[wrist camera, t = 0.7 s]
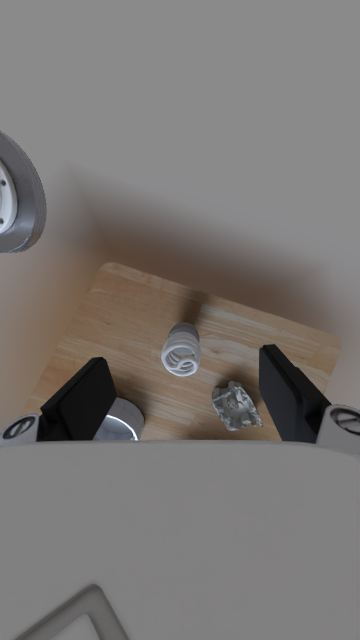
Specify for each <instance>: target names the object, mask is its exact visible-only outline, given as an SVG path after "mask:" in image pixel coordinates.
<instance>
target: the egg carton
mask: <svg viewBox="0 0 360 640" xmlns="http://www.w3.org/2000/svg"><path fill="white" fill-rule="evenodd" d="M214 391H215V392H214V393H213V394H212V398H213V401H212V402H211V404H212V405H213V407H214V408H215V410H216V411H217V413H218V415H219V416H220V418H221V420H222V421H223V422H224V424H225V426H226V428H227V429H228V430H231V431H234V430H239V429H240V428H242V427H243V428H246V425H247V424H249V423H251V424H252V425H253V426H258V425H261V426H262V427H263V423H262V422H261V420H260V418H259V416H258V415H259V413H258V410H257V408H256V407H255V405H254V404H253V402H252V400H251V399H250V397H249V396H248V395H247V393H246V392H245V391H244V390H243V388H242V385H241V383H240V382H234V381H230V382H228V386H227V388H224V389H221V388H219V387H217V388H215V389H214Z"/></svg>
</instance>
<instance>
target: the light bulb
mask: <svg viewBox="0 0 360 640" xmlns="http://www.w3.org/2000/svg"><path fill="white" fill-rule="evenodd" d="M173 351H174V352H175V353H177V354H180V355H188V354H191V353H194V354H193V355H192V356H185V357H180V356H177V355H176V354H175V353H174V352H173ZM200 359H201V350H200V345H199V334H198V331H197V329H196V327H195V326H193V325H192V324H190V323H186V322H182V323H178V324H176V325H175V326H174V327H173V328H172V330H171V331H170V333H169V336H168V339H167V341H166V343H165V344H164V347H163V351H162V361H163V364H164V366H165V367H166V368H167V370H169V371H170V372H171V373H173V374H175V375H178V376H188V375H191V374H193V373H194V372H196V371H197V369H198V366H199V362H200Z"/></svg>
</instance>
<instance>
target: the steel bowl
mask: <svg viewBox="0 0 360 640" xmlns="http://www.w3.org/2000/svg"><path fill="white" fill-rule="evenodd" d="M143 427H144V418H143V416H142V414H141V412H140V410H139V409H138V408H137V407H136V406H135V405H134V404H132V403H130V402H129V401H127V400H125V399H122V398H118V397H116V400H115V401H114V403H113V405H112V407H111V408H110V410H109V412H108V414H107V415H106V417H105V419H104V421H103V422H102V424H101V426H100V428H99V429H98V431H97V433H96V435H95V436H94V438H93V440H92V441H104V440H140V437H141V434H142V431H143Z"/></svg>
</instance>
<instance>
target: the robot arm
mask: <svg viewBox="0 0 360 640" xmlns="http://www.w3.org/2000/svg"><path fill="white" fill-rule="evenodd" d="M17 205H18V204H17V194H16V190H15V186H14V184H13V181H12V178H11V176H10V174H9V172H8V171H7V169H6V167H5V166H4V164H3V163H2V162H1V160H0V233H3V232H5V231H6V230H8V229H9V228H10V227H11V225H12V224H13V222H14V220H15V217H16V214H17ZM259 391H260V394H261V396H262V398H263V400H264V402H265V404H266V407H267V409H268V411H269V413H270V415H271V417H272V419H273V422H274V424H275V426H276V428H277V430H278V432H279V435H280V437H281V439H282V441H264V440H104V441H92V440H93V438H94V436H95V435H96V433H97V431H98V429H99V428H100V426H101V424H102V422H103V421H104V419H105V417H106V415H107V414H108V412H109V410H110V408H111V407H112V405H113V403H114V401H115V400H116V397H117V392H116V389H115V386H114V383H113V379H112V376H111V373H110V370H109V367H108V364H107V361H106V359H104V358H103V357H95V358H92V359H91V360H90V361H89V362H88V363H86V364H85V365H84V366H83V367H82V368H81V369H80V370H79V371H78V372H77V373H76V374H75V375H74V376H73V377H72V378H71V379H70V380H69V381H68V382H67V383H66V384H65V385H64V386H63V387H62V388H60V389H59V390H58V391H57V392H56V393H55V394H54V395H53V396H52V397H51V398H50V399H49V400H48V401H47V402H46V403H45V404H44V405H43V406H42V407H41V408H40V409H41V411H42V413H43V414H42V415H41V416H39V415H38V414H36V413H32V414H27V415H25V416H22V417H20V418H18V419H17V420H15V421H13V422H12V423H10V424H9V425H8V426H7V427H5V428H4V430H3V431H2V432H1V433H0V640H360V410H358V409H355V408H353V407H350V406H346V405H339V404H336V405H332V404H331V403H330V402H329V401H328V400H327V399H326V398H325V396H324V395H323V394H322V393H321V392H320V391H319V390H318V389H317V388H316V387H315V385H314V384H313V383H312V382H311V381H310V380H309V379H308V378H307V377H306V376H305V375H304V373H303V372H302V371H301V370H300V369H299V368H298V367H295V366H294V365H293V364H292V363H291V362H290V361H289V360H288V358H287V357H286V356H285V355H284V354H283V353H282V352H281V351H280V350H279V348H278V347H277V346H276V345H275V344H271V345H263V348H260V350H259Z"/></svg>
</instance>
